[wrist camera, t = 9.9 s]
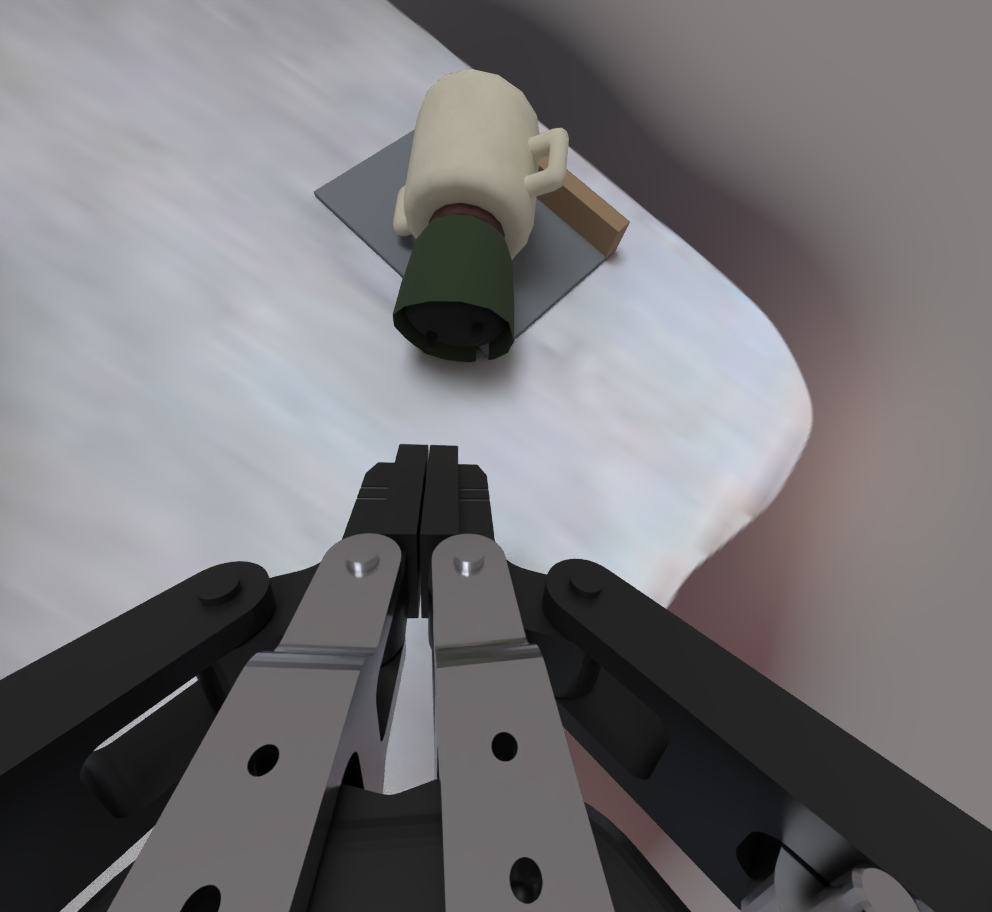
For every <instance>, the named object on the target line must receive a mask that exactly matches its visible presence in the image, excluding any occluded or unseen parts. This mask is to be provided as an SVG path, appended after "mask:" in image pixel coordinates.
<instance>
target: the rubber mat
mask: <svg viewBox="0 0 992 912" xmlns="http://www.w3.org/2000/svg"><path fill="white" fill-rule="evenodd" d="M450 74H451V73H450ZM438 81H439V80H438ZM414 132H415V130H413V131H411V132H410V133H408V134H407V135H405V136H403V137H402V138H400V139H398V140H397V141H395V142H394V143H392V144H390V145H389V146H387V147H385V148H384V149H382V150H381V151H379V152H377V153H376V154H374V155H372V156H371V157H369V158H368V159H366V160H364V161H363V162H361V163H360V164H358V165H356V166H355V167H353V168H351V169H350V170H348V171H347V172H345V173H343V174H342V175H340V176H338V177H337V178H335V179H334V180H332V181H330V182H329V183H327V184H325V185H324V186H322V187H321V188H319V189H317V190H316V191H314V194H315V196H316V197H317V198H318V199H319V200H320V201H321V202H322V203H323V204H325V205H326V206H327V207H328V208H329V209H330V210H331V211H332V212H333V213H334V214H335V215H336V216H337V217H338V218H340V219H341V220H342V221H343V222H344V223H345V224H346V225H347V226H348V227H349V228H350V229H351V230H352V231H353V232H355V233H356V234H357V235H358V236H359V237H360V238H361V239H362V240H363V241H364V242H365V243H366V244H367V245H368V246H370V247H371V248H372V249H373V250H374V251H375V252H376V253H377V254H378V255H379V256H380V257H381V258H382V259H384V260H385V261H386V262H387V263H388V264H389V265H390V266H391V267H392V268H393V269H394V270H395V271H396V272H397V273H399V274H400V275H401V276H402V277H404V274H405V270H406V267H407V264H408V261H409V258H410V255H411V252H412V249H413V246H414V243H415V240H416V238H415V237H414V236H413V234H412V235H409V236H400V235H396V234H395V231H394V227H393V219H394V213H395V207H396V201H397V195H398V193H399V191H400V189H401V188H402V187H404V186H405V185H406V180H407V174H408V168H409V162H410V156H411V150H412V144H413V138H414ZM548 163H549V155H548V156H545V157H542V158H539V168H538V172H540V171H543V170H545V169H547V167H548ZM629 223H630V221H629V220H627V219H626V218H625V217H624V216H623V215H621V214H620V213H619V212H618V211H617V210H615V209H614V208H613V207H612V206H611V205H609V204H608V203H607V202H606V201H605V200H603V199H602V198H601V197H600V196H599V195H597V194H596V193H595V192H594V191H592V190H591V189H590V188H589V187H588V186H586V185H585V184H584V183H583V182H582V181H580V180H579V179H578V178H577V177H576V176H574V175H573V174H572V173H571V172H570V171H568V170H567V169H566V176H565V180H564V183H563V185H562V187H560V188H558V189H557V190H555V191H552V192H549V193H546V194H543V195H539V196H536V206H535V217H534V226H533V228H532V230H531V233H530V235H529V238H528V241H527V244H526V245H525V246H524V247H523V248H522V249H521V250H520V251H519V252H518V254H517V255H516V256H515V257H514V258H513V260H512V267H513V288H514V339H515V338H516V337H517V336H518V335H519V334H520V333H522V332H523V331H524V330H525V329H526V328H527V327H529V326H530V325H531V324H532V323H533V322H534V321H535V320H537V319H538V318H539V317H540V316H541V315H542V314H543V313H545V312H546V311H547V310H548V309H549V308H550V307H551V306H553V305H554V304H555V303H556V302H557V301H558V300H559V299H561V298H562V297H563V296H564V295H565V294H566V293H567V292H569V291H570V290H571V289H572V288H573V287H574V286H575V285H577V284H578V283H579V282H580V281H581V280H582V279H583V278H585V277H586V276H587V275H588V274H589V273H590V272H591V271H593V270H594V269H595V268H596V267H597V266H598V265H600V264H601V263H602V262H603V261H604V260H605V259H606V258H608V257H609V256H610V255H611V254H612V253H613V252H614V251H615V250H616V248H617V246H618V245H619V243H620V241H621V239H622V237H623V235H624V233H625V231H626V229H627V227H628V225H629ZM478 348H479V349H480V350H481V351H482V352H483V353H484V354H485V355H486V356H488V357H489V343H487V344H484V345H481V346H479V347H478Z"/></svg>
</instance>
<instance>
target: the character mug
mask: <svg viewBox="0 0 992 912" xmlns="http://www.w3.org/2000/svg"><path fill="white" fill-rule="evenodd" d="M568 141H569V137H568V134H567V131H565V130H564V129H562V128H557V129H556V128H555V129H552V130H549V131H547V132H544V133H541V134H539V128H538V122H537V115H536V113H535V112H534V110H533V109H532V107H531V105H530V104H529V102H528V101H527V99H526V97H525V96H524V94H523V93H522V92H521V91H520V90H518V89H517V88H515V87H514V86H513V85H512V84H510V83H509V82H507V81H506V80H505V79H503V78H501V77H500V76H499V75H495V74H490V73H486V72H482V71H477V70H473V69H469V70H465V71H460V72H456V73H451V74H447V75H445V76H444V77H442V78H441V79H440V80H439V81H438V82H437V83H436V84H435V85H433V86H432V87H431V88H430V89H429V90H428V91H427V92H426V95H425V98H424V100H423V103H422V106H421V108H420V111H419V114H418V117H417V121H416V126H415V132H414V138H413V144H412V150H411V156H410V162H409V168H408V174H407V180H406V185H405V186H404V187H402V188H401V189H400V191H399V193H398V195H397V201H396V207H395V213H394V219H393V227H394V231H395V234H396V235H400V236H409V235H412V234H413V236H414V237H415V238H416V240H415V243H414V246H413V249H412V252H411V255H410V258H409V261H408V264H407V267H406V270H405V274H404V277H403V280H402V283H401V286H400V290H399V294H398V297H397V301H396V305H395V308H394V312H393V321H394V326H395V327H396V329H397V330H398V331H399V332H400V333H401V334H402V335H403V336H404V337H405V338H406V339H407V340H408V341H410V342H411V343H412V344H414V345H415V346H416V347H418V348H419V349H420V350H421V351H423V352H424V353H426V354H430V355H433V356H436V357H439V358H443V359H446V360H453V361H464V362H473V361H475V358H476V349H477V347H479V346H481V345H484V344H487V343H489V357H488V360H491V359H496V358H498V357H500V356H502V355H504V354H506V353H508V351H509V349H510V347H511V346H512V344H513V342H514V288H513V267H512V260H513V258H514V257H515V256H516V255H517V254H518V252H519V251H520V250H521V249H522V248H523V247H524V246H525V245H526V244H527V241H528V238H529V235H530V233H531V230H532V228H533V226H534V217H535V206H536V196H539V195H543V194H546V193H549V192H552V191H555V190H557V189H558V188H560V187H562V185H563V183H564V180H565V176H566V165H567V153H568ZM548 155H549V163H548V167H547V169H545V170H543V171H540V172H538V168H539V158H542V157H545V156H548Z"/></svg>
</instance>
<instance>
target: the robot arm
mask: <svg viewBox="0 0 992 912" xmlns="http://www.w3.org/2000/svg"><path fill="white" fill-rule="evenodd" d="M489 499H490V498H489V491H488V482H487V475H486V474H485V473H484V472H483V471H482V469H481V468H480V467H479V466H478V465H468V464H458V446H446V445H430V451H429V450H428V445H413V444H400V445H399V448H398V452H397V456H396V460H395V463H383V462H378V463H377V464H376V465H375V466H373V467H372V468H371V469H370V470H369V471H368V472H367V473H366V474H365V477H364V480H363V482H362V485H361V489H360V491H359V493H358V496H357V499H356V502H355V505H354V507H353V510H352V513H351V516H350V519H349V521H348V524H347V527H346V530H345V533H344V535H343V538H342V540H341V541H339V542H338V543H336V544H335V545H333V546H332V547H331V548H330V549H329V550H328V551H327V552H326V554H325V555H324V557H323V559H322V561H321V562H320V563H318V564H316V565H314V566H312V567H310V568H307V569H304V570H301V571H297V572H293V573H288V574H284V575H280V576H276V577H272V578H269V576H268V573H267V572H266V570H265V569H264V568H263V567H261V566H260V565H258V564H255V563H251V562H243V561H237V562H228V563H223V564H220V565H216V566H213V567H210V568H208V569H206V570H203V571H201V572H199V573H197V574H196V575H194V576H192V577H190V578H188V579H186V580H184V581H183V582H181V583H179V584H177V585H175V586H173V587H172V588H170V589H168V590H166V591H164V592H162V593H160V594H159V595H157V596H155V597H153V598H151V599H149V600H147V601H146V602H144V603H142V604H140V605H138V606H136V607H135V608H133V609H131V610H129V611H127V612H125V613H123V614H122V615H120V616H118V617H116V618H114V619H112V620H111V621H109V622H107V623H105V624H103V625H101V626H99V627H98V628H96V629H94V630H92V631H90V632H88V633H86V634H85V635H83V636H81V637H79V638H77V639H75V640H74V641H72V642H70V643H68V644H66V645H64V646H62V647H61V648H59V649H57V650H55V651H53V652H51V653H50V654H48V655H46V656H44V657H42V658H40V659H38V660H37V661H35V662H33V663H31V664H29V665H27V666H25V667H24V668H22V669H20V670H18V671H16V672H14V673H13V674H11V675H9V676H7V677H5V678H3V679H1V680H0V912H60V911H61V910H62V909H63V908H64V907H65V906H66V905H67V904H68V903H70V902H71V901H72V900H73V899H74V898H75V897H76V896H77V895H78V894H80V893H81V892H82V891H83V890H84V889H85V888H86V887H87V886H88V885H90V884H91V883H92V882H93V881H94V880H95V879H96V878H97V877H98V876H100V875H101V874H102V873H103V872H104V871H105V870H106V869H107V868H108V867H110V866H111V865H112V864H113V863H114V862H115V861H116V860H117V859H118V858H120V857H121V856H122V855H123V854H124V853H125V852H126V851H127V850H128V849H130V848H131V847H132V846H133V845H134V844H135V843H136V842H137V841H138V840H140V839H141V838H142V837H143V836H144V835H145V834H146V833H147V832H148V831H150V830H151V829H152V828H153V827H154V826H155V827H154V829H153V830H152V832H151V834H150V836H149V838H148V839H147V841H146V843H145V845H144V846H143V848H142V850H141V852H140V854H139V855H138V857H137V859H136V860H135V861H134V862H132V863H131V864H130V865H129V866H128V867H126V868H125V869H124V870H123V871H121V872H120V873H119V874H118V875H117V876H115V877H114V878H113V879H112V880H111V881H110V882H108V883H107V884H106V885H105V886H104V887H103V888H102V889H101V890H100V891H99V892H98V893H96V894H95V895H94V896H93V897H92V898H91V899H90V900H89V901H88V902H87V903H86V904H85V905H84V906H83V907H82V908H81V909H80V910H79V911H78V912H691V911H690V910H689V909H688V908H687V907H686V905H685V904H684V903H683V902H682V901H681V899H680V898H679V897H678V896H677V895H676V894H675V892H674V891H673V890H672V889H671V888H670V886H669V885H668V884H667V883H666V882H665V881H664V880H663V878H662V877H661V876H660V875H659V874H658V872H657V871H656V870H655V869H654V868H653V866H652V865H651V864H650V863H649V862H648V860H647V859H646V858H645V857H644V856H643V855H642V853H641V852H640V851H639V850H638V849H637V848H636V846H635V845H634V844H633V843H632V842H631V841H630V840H629V839H628V838H627V836H626V835H625V834H624V833H623V832H621V830H619V829H618V828H617V827H616V826H615V825H614V824H613V823H612V822H611V821H610V820H609V819H608V818H606V817H605V816H604V815H602V814H601V813H600V812H598V811H597V810H596V809H594V808H593V807H592V806H590V805H588V804H587V803H585V802H584V801H583V797H582V794H581V790H580V787H579V783H578V779H577V776H576V773H575V769H574V765H573V762H572V758H571V755H570V751H569V748H568V744H567V740H566V737H565V733H564V730H563V727H564V728H565V729H566V730H567V731H568V732H569V733H570V734H571V735H572V736H573V737H574V738H575V739H576V740H577V741H578V742H579V743H580V744H581V745H582V746H583V747H584V749H585V750H586V751H588V753H589V754H590V755H591V756H592V757H593V758H594V759H595V760H596V761H597V762H598V763H599V764H600V765H601V766H602V767H603V768H604V769H605V770H606V771H607V772H608V773H609V775H610V776H611V777H613V779H614V780H615V781H616V782H617V783H618V784H619V785H620V786H621V787H622V788H623V789H624V790H625V791H626V792H627V793H628V794H629V795H630V796H631V797H632V798H633V800H635V802H636V803H637V804H638V805H639V806H640V807H641V808H642V809H643V810H644V811H645V812H646V813H647V814H648V815H649V816H650V817H651V818H652V819H653V820H654V821H655V822H656V823H657V825H658V826H659V827H660V828H661V829H662V830H663V831H664V832H665V833H666V834H667V835H668V836H669V837H670V838H671V839H672V840H673V841H674V842H675V843H676V844H677V845H678V846H679V847H680V848H681V849H682V851H683V852H684V853H685V854H686V855H687V856H688V857H689V858H690V859H691V860H692V861H693V862H694V863H695V864H696V865H697V866H698V867H699V868H700V869H701V870H702V871H703V872H704V873H705V874H706V875H707V877H708V878H709V879H710V880H711V881H712V882H713V883H714V884H715V885H716V886H717V887H718V888H719V889H720V890H721V891H722V892H723V893H724V894H725V895H726V896H727V897H728V898H729V899H730V900H731V902H732V903H733V904H734V905H735V906H736V907H737V908H738V909H739V910H740V911H741V912H992V831H991V830H990V829H988V828H987V827H986V826H984V825H982V824H981V823H980V822H978V821H977V820H975V819H974V818H972V817H971V816H969V815H968V814H966V813H965V812H963V811H962V810H961V809H959V808H958V807H956V806H955V805H953V804H952V803H950V802H949V801H947V800H946V799H944V798H943V797H941V796H940V795H939V794H937V793H935V792H934V791H932V790H931V789H930V788H928V787H927V786H925V785H924V784H922V783H921V782H919V781H918V780H916V779H915V778H913V777H912V776H911V775H909V774H908V773H906V772H905V771H903V770H902V769H900V768H899V767H897V766H896V765H894V764H893V763H891V762H890V761H889V760H887V759H885V758H884V757H882V756H881V755H880V754H878V753H877V752H875V751H874V750H872V749H871V748H869V747H868V746H867V745H865V744H864V743H862V742H861V741H859V740H858V739H856V738H855V737H853V736H852V735H850V734H849V733H847V732H846V731H844V730H843V729H841V728H840V727H839V726H837V725H836V724H834V723H833V722H831V721H830V720H828V719H827V718H825V717H824V716H822V715H821V714H819V713H818V712H817V711H815V710H813V709H812V708H811V707H809V706H807V705H806V704H805V703H803V702H802V701H800V700H799V699H797V698H796V697H795V696H793V695H791V694H790V693H789V692H787V691H786V690H784V689H783V688H781V687H780V686H778V685H777V684H775V683H774V682H772V681H771V680H769V679H768V678H767V677H765V676H763V675H762V674H761V673H759V672H758V671H756V670H755V669H753V668H752V667H750V666H749V665H747V664H746V663H745V662H743V661H741V660H740V659H739V658H737V657H736V656H734V655H732V654H731V653H730V652H728V651H727V650H725V649H724V648H722V647H721V646H720V645H718V644H717V643H715V642H714V641H712V640H711V639H709V638H708V637H706V636H705V635H703V634H702V633H700V632H699V631H697V630H696V629H695V628H693V627H692V626H690V625H688V624H687V623H686V622H684V621H683V620H681V619H680V618H678V617H677V616H675V615H674V614H673V613H671V612H670V611H668V610H667V609H665V608H664V607H662V606H661V605H659V604H658V603H656V602H655V601H653V600H652V599H650V598H649V597H648V596H646V595H645V594H643V593H642V592H640V591H639V590H637V589H636V588H634V587H633V586H631V585H630V584H628V583H627V582H626V581H624V580H623V579H621V578H620V577H618V576H617V575H615V574H614V573H612V572H611V571H609V570H608V569H606V568H605V567H603V566H601V565H599V564H597V563H595V562H592V561H588V560H583V559H568V560H564V561H561V562H559V563H557V564H555V565H554V566H553V567H552V568H551V569H550V570H549V572H548V574H547V575H546V574H542V573H538V572H534V571H530V570H527V569H523V568H520V567H518V566H516V565H514V564H512V563H511V562H509V561H508V560H507V559H506V557H505V554H504V552H503V550H502V548H501V547H500V546H499V545H498V544H497V543H496V542H495V539H494V531H493V523H492V514H491V506H490V501H489ZM420 596H421V614H422V618H428V636H429V644H430V647H431V649H432V681H433V717H434V757H435V780H433V781H430V782H428V783H425V784H422V785H420V786H417V787H414V788H412V789H409V790H406V791H404V792H401V793H398V794H394V795H385V794H382V793H383V785H384V773H385V760H386V753H387V746H388V741H389V736H390V731H391V726H392V721H393V716H394V711H395V706H396V701H397V696H398V691H399V686H400V681H401V676H402V671H403V665H404V660H405V655H406V639H405V632H406V624H407V618H418V617H419V607H420ZM195 676H196V677H197V679H198V681H196V682H195V683H194V684H192V685H191V686H190V687H188V688H187V689H185V690H184V691H183V692H181V693H180V694H178V695H177V696H176V697H174V698H173V699H172V700H170V701H169V702H167V703H166V704H165V705H163V706H162V707H160V708H159V709H158V710H156V711H155V712H154V713H152V714H151V715H149V716H148V717H147V718H145V719H144V720H142V721H141V722H140V723H138V724H137V725H136V726H134V727H133V728H131V729H130V730H129V731H127V732H126V733H124V734H123V735H122V736H120V737H119V738H118V739H116V740H115V741H113V742H112V743H110V744H109V745H107V746H105V747H103V748H101V749H99V750H96V751H94V750H95V749H96V748H97V747H98V746H99V745H100V744H101V743H103V742H104V741H105V740H107V739H108V738H109V737H111V736H112V735H114V734H115V733H116V732H118V731H119V730H121V729H122V728H123V727H125V726H126V725H128V724H129V723H131V722H132V721H133V720H135V719H136V718H138V717H139V716H140V715H142V714H143V713H145V712H146V711H147V710H149V709H150V708H152V707H153V706H154V705H156V704H157V703H159V702H160V701H161V700H163V699H164V698H166V697H167V696H168V695H170V694H171V693H173V692H174V691H175V690H177V689H178V688H180V687H181V686H183V685H184V684H185V683H187V682H188V681H190V680H191V679H192V678H194V677H195Z"/></svg>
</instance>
